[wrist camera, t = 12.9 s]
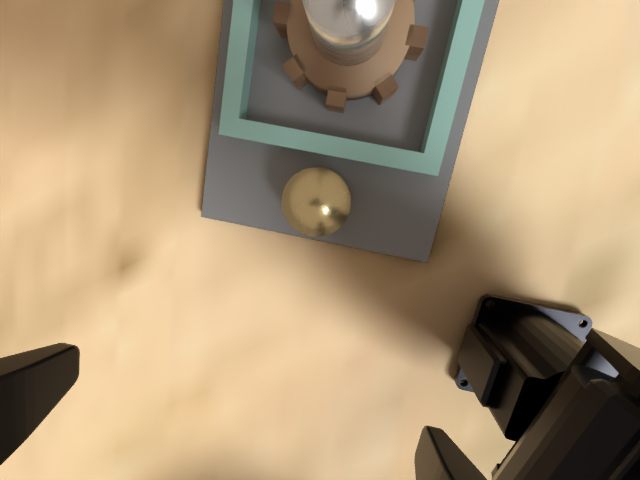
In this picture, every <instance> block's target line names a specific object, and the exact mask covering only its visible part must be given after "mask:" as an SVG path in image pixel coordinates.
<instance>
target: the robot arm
mask: <svg viewBox="0 0 640 480" xmlns="http://www.w3.org/2000/svg"><path fill="white" fill-rule="evenodd" d="M488 301H492V303H491V305H489V306H486V303H487V302H488ZM581 320H583V323H582V324H580V325H579V322H580V321H581ZM591 326H592V320H591V319H590V318H589V317H588V316H586V315H585V314H582V313H578V312H573V311H568V310H563V309H558V308H554V307H549V306H544V305H539V304H534V303H529V302H525V301H520V300H515V299H510V298H505V297H500V296H495V295H491V294H486V295H483V296H482V297H481V298H480V300H479V303H478V306H477V309H476V312H475V315H474V319H473V322H472V324H470V325H469V326H468V327H467V330H466V333H465V336H464V339H463V342H462V346H461V349H460V352H459V355H458V358H457V361H458V363H459V365H458V368H457V372H456V375H455V379H454V380H455V383H456V385H457V387H458V388H459V389H462V390H466V391H470V392H474V393H475V394H476V396H477V398H478V400H479V402H480V403H481V405H482V406H483V407H487V408H489V410H490V411H491V413H492V415H493V417H494V418H495V420H496V422H497V424H498V425H499V427H500V429H501V431H502V432H503V434H504V436H505V437H506V438H507V439H509V440H513V441H516V442H515V444H514V445H513V446H512V448H511V449H510V451H509V452H508V454H507V455H506V456H505V458H504V459H503V461H502V462H501V464H497V465H496V466H495V468H494V469H493V471H492V480H640V348H638V347H635V346H633V345H631V344H628V343H626V342H624V341H621V340H619V339H617V338H615V337H612V336H610V335H608V334H605V333H603V332H601V331H598V330H596V329H594V328H591ZM590 329H591V330H590ZM586 340H587V341H586ZM585 341H586V342H585ZM79 356H80V351H79V348H78V347H77V346H75V345H71V344H67V343H58V344H54V345H50V346H46V347H42V348H38V349H34V350H30V351H27V352H23V353H19V354H15V355H11V356H7V357H3V358H0V465H1V464H2V463H3V462H4V461H5V460H6V459H7V458H8V457H9V456H10V455H11V454H12V453H13V452H14V451H15V450H16V449H17V448H18V447H19V446H20V445H21V444H22V443H23V442H24V441H25V440H26V439H27V438H28V437H29V436H30V435H31V434H32V432H33V431H34V430H35V429H36V428H37V427H38V426H39V424H40V423H41V422H42V421H43V420H44V419H45V417H46V416H47V415H48V414H49V413H50V412H51V410H52V409H53V408H54V407H55V406H56V405H57V404H58V402H59V401H60V400H61V399H62V398H63V397H64V395H65V394H66V393H67V392H68V391H69V390H70V388H71V387H72V386H73V385H74V384H75V382H76V380H77V378H78V376H79ZM463 379H466V381H465V382H462V383H461V380H463ZM415 473H416V480H487V479H486V478H485V477H484V476H483V474H482V473H481V472H480V471H479V470H478V469H477V468H476V467H475V466H474V464H473V463H472V462H471V461H470V460H469V459H468V458H467V457H466V455H465V454H464V453H463V452H462V451H461V450H460V449H459V448H458V446H457V445H456V444H455V443H454V442H453V441H452V440H451V439H450V438H449V436H448V435H447V434H446V433H445V432H444V431H443V430H442V429H440V428H436V427H431V426H425V427H424V428H423V430H422V433H421V436H420V439H419V442H418V446H417V449H416V452H415Z"/></svg>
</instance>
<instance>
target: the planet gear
mask: <svg viewBox="0 0 640 480" xmlns="http://www.w3.org/2000/svg"><path fill="white" fill-rule="evenodd" d="M414 2H415V0H291V1H290V3H286V2H280V1H276V3H275V10H274V17H273V23H274V25H275V27H276V29H277V30H278V32H279V34H280V36H281V38H287V39H288V42H289V45H290V49H291V52H292V54H293V57H292V58H291V59H289V60H288V61H287V62H286V63H284V64H283V65H282V66H283V68H284V69H285V71H286V72H287V74H288V75H289V77H290V78H291V80H292V81H293V83H294V84H295V86H296V87H297V89H298V90H300V89H301V88H303V87H304V86H305V85H306V84H308V83H310V84H311V85H312V86H313V87H314V88H315V89H316V90H317V91H319V92H320V93H322V94H324V95H326V96H327V99H326V106H327V109H328V111H333V112H338V113H343V114H344V112H345V107H346V102H347V101H350V100H358V99H362V98H366V97H368V96H370V95H372V94H373V96H374V97H375V99H376V100H377V102H378V104H379V105H381V104H382V103H384V102H385V101H386V100H388V99H389V98H391V97H392V96H393V95H394V94H395V92H396V91H397V89H398V87H399V86H398V84H397V82H396V81H395V79H394V75H395V74H396V73H397V71H398V69H399V67H400V65H401V63H402V61H403V59H405V60H411V61H417V59H418V58H419V56H420V54H421V53H422V51H423V49H424V47H425V43H426V38H427V34H428V30H429V27H425V26H419V25H414V23H415V13H414V4H413V3H414Z"/></svg>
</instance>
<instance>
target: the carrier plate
mask: <svg viewBox="0 0 640 480" xmlns="http://www.w3.org/2000/svg"><path fill="white" fill-rule="evenodd" d="M276 1H280V2H286V3H290V1H291V0H224V4H223V14H222V23H221V33H220V42H219V52H218V61H217V71H216V81H215V90H214V100H213V109H212V119H211V128H210V138H209V147H208V157H207V166H206V176H205V185H204V195H203V204H202V214H201V217H205V218H210V219H215V220H220V221H225V222H230V223H235V224H240V225H245V226H250V227H255V228H259V229H264V230H269V231H274V232H279V233H284V234H289V235H294V236H299V237H304V238H308V239H313V240H318V241H323V242H328V243H333V244H338V245H343V246H348V247H353V248H357V249H362V250H367V251H372V252H377V253H382V254H387V255H392V256H397V257H402V258H406V259H411V260H416V261H421V262H426V263H428V259H429V255H430V252H431V248H432V244H433V241H434V237H435V233H436V230H437V226H438V222H439V219H440V215H441V211H442V208H443V204H444V201H445V197H446V193H447V190H448V186H449V182H450V179H451V175H452V171H453V168H454V164H455V160H456V157H457V153H458V149H459V146H460V142H461V138H462V135H463V131H464V128H465V124H466V120H467V117H468V113H469V109H470V106H471V102H472V98H473V95H474V91H475V87H476V84H477V80H478V76H479V73H480V69H481V66H482V62H483V58H484V55H485V51H486V47H487V44H488V40H489V36H490V33H491V29H492V25H493V22H494V18H495V14H496V11H497V7H498V3H499V0H415V2H414V3H413V4H414V13H415V23H414V25H419V26H425V27H429V30H428V34H427V38H426V43H425V47H424V49H423V51H422V53H421V54H420V56H419V58H418V59H417V61H411V60H405V59H403V61H402V63H401V65H400V67H399V69H398V71H397V73H396V74H395V75H394V79H395V81H396V82H397V84H398V86H399V87H398V89H397V91H396V92H395V94H394V95H393V96H392V97H391V98H389V99H388V100H386V101H385V102H384V103H382V104H381V105H379V104H378V102H377V100H376V99H375V97H374V96H373V94H372V95H370V96H368V97H366V98H362V99H358V100H350V101H347V102H346V107H345V112H344V114H343V113H338V112H333V111H328V109H327V106H326V99H327V96H326V95H324V94H322V93H320V92H319V91H317V90H316V89H315V88H314V87H313V86H312V85H311V84H310V83H308V84H306V85H305V86H304V87H303V88H301V89H300V90H298V89H297V87H296V86H295V84H294V83H293V81H292V80H291V78H290V77H289V75H288V74H287V72H286V71H285V69H284V68H283V66H282V65H283V64H284V63H286V62H287V61H288V60H289V59H291V58H292V57H293V54H292V52H291V49H290V45H289V42H288V39H287V38H281V36H280V34H279V32H278V30H277V29H276V27H275V25H274V23H273V17H274V10H275V3H276Z"/></svg>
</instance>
